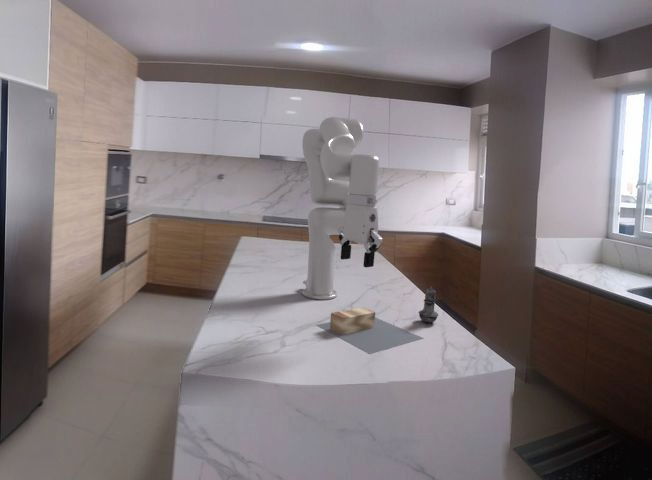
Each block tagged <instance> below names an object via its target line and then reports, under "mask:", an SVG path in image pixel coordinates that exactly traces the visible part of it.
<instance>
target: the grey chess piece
mask: <svg viewBox="0 0 652 480" xmlns="http://www.w3.org/2000/svg"><path fill="white" fill-rule="evenodd" d="M424 296H425V297H424V299H423V303H424V304H423V309H421V310H419V311H418V314H419V315H418V316H419V318H420V320H421V321H422V322H423V323H425V324H430V325H431V324H432V323H434V322H436V320H437V319H438V316H439V313H438V312H436V311H435V310H436V309H435V304H436V303H437V301H436V290H434V289H433V287H432V286H429V288H428V289H425V295H424Z"/></svg>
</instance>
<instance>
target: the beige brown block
mask: <svg viewBox="0 0 652 480" xmlns="http://www.w3.org/2000/svg"><path fill="white" fill-rule="evenodd" d="M375 317H376V311H373V310H370V309H369V308H366V307H358V308H353V309H346V310H342V311H334V312H331V313H330V321H329V322H330V329H331V330H332V331H334V332H336V333H338V334H340V335H344V334H349V333H353V332H357V331H361V330H365V329H370V328H374V322H375Z"/></svg>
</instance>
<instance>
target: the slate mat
mask: <svg viewBox="0 0 652 480" xmlns="http://www.w3.org/2000/svg"><path fill="white" fill-rule="evenodd" d="M316 326H317V327H318V328H320V329H323V330H324V331H326V332H328V333H330V334H331V335H333V336H335V337H337V338H339V339H341V340H342V341H344V342H347V343H348V344H350V345H352V346H354V347H356V348H358V349H359V350H361V351H363V352H365V353H367V354H369V355H372V354H374V353H378V352H382V351H386V350H390V349H393V348H396V347H399V346H403V345H406V344H409V343H412V342H416V341H420V340H424V337H422V336H419V335H418V334H415V333H414V332H413V333H412V332H411V331H408V330H405V329H403V328H401V327H399V326H397V325H394V324H392V323H390V322H387V321H385V320H383V319H379V318H377V317H376V316H375V322H374V328H370V329H365V330H361V331H357V332H353V333H349V334H344V335H340V334H338V333H336V332H334V331H332V330H331V329H330V321H329V322H324V323H319V324H316Z"/></svg>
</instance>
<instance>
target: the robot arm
mask: <svg viewBox="0 0 652 480" xmlns="http://www.w3.org/2000/svg"><path fill="white" fill-rule="evenodd" d="M303 133H304V134H303V137H302V142H301V143H302V144H301V145H302V153H303V157H304V161H305V163H306V165H307V169H308V181H309V194H310V199H311V202H312V203H313V204H314V205H317V206H322V207H315V208H313V209H311V210H310V211H309V212H308V215H307V226H308V256H307V257H308V260H307V276H306V280H303V281H302V284H303V285H305V288H304V289H302V290H301V294H302V295H303V296H304V297H305V298H309V299H313V300H332V299H334V298H337V296H338V292H337V290H334V279H335V265H336V264H335V263H336V245H335V243H334V241H333V240H332V238H331V237H330V236H336V235H337V236H338V239H339V241H340V243H339V245H340V246H341V247H340V248H341V249H340V260H350V259H351V257H352V256H351V255H352V245H351V243H356V244H359V245H363V247H364V249H365V252H364V256H363V267H364V268H372V267H374V265H375V253H377V251H378V250H379V248H380V246H381V244H382V243H383V238H382V237H383V236H381V235H380V234H379V214H378V208H377V207H376V204H377V203H378V201H377V191H378V190H377V188H378V179H379V167H380V159H379V157H378V156H377V155H372V154H355V153H353V150H354V149H356V148H357V147H358V146H359V145H360V143H361V142H362V141H363V138H364V126H363V124H362V123H361V122H360V120H358V119H355V118H346V117H338V116H336V117H335V116H329V117H326V118H324V119H323V120H322V121H321V123H320V125H319V128H310V129H307V130H306V131H304V132H303ZM323 206H324V207H323ZM325 206H326V207H325ZM327 206H329V207H327Z"/></svg>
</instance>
